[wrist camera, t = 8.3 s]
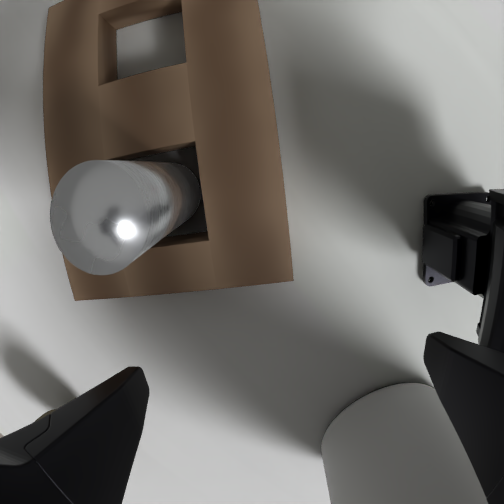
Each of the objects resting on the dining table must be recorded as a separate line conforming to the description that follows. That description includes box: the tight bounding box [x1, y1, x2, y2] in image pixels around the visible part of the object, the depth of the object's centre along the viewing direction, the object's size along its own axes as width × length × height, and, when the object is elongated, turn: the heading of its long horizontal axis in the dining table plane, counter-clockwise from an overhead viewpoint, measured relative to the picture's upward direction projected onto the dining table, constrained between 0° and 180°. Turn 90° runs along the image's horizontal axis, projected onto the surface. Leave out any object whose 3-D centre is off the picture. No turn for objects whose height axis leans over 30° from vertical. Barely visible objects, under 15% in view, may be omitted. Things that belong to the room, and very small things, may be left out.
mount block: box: [43, 0, 294, 301], centre depth 17 cm, size 14×21×3 cm, turn 7°
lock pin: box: [50, 160, 201, 275], centre depth 15 cm, size 4×4×10 cm
